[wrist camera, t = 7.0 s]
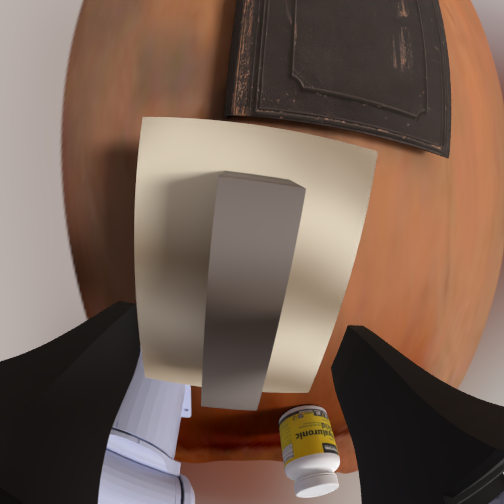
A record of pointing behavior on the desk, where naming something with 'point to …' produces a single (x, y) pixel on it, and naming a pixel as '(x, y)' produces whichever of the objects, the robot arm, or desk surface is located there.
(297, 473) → the supplement bottle
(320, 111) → the hardcover book
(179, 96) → the desk surface
